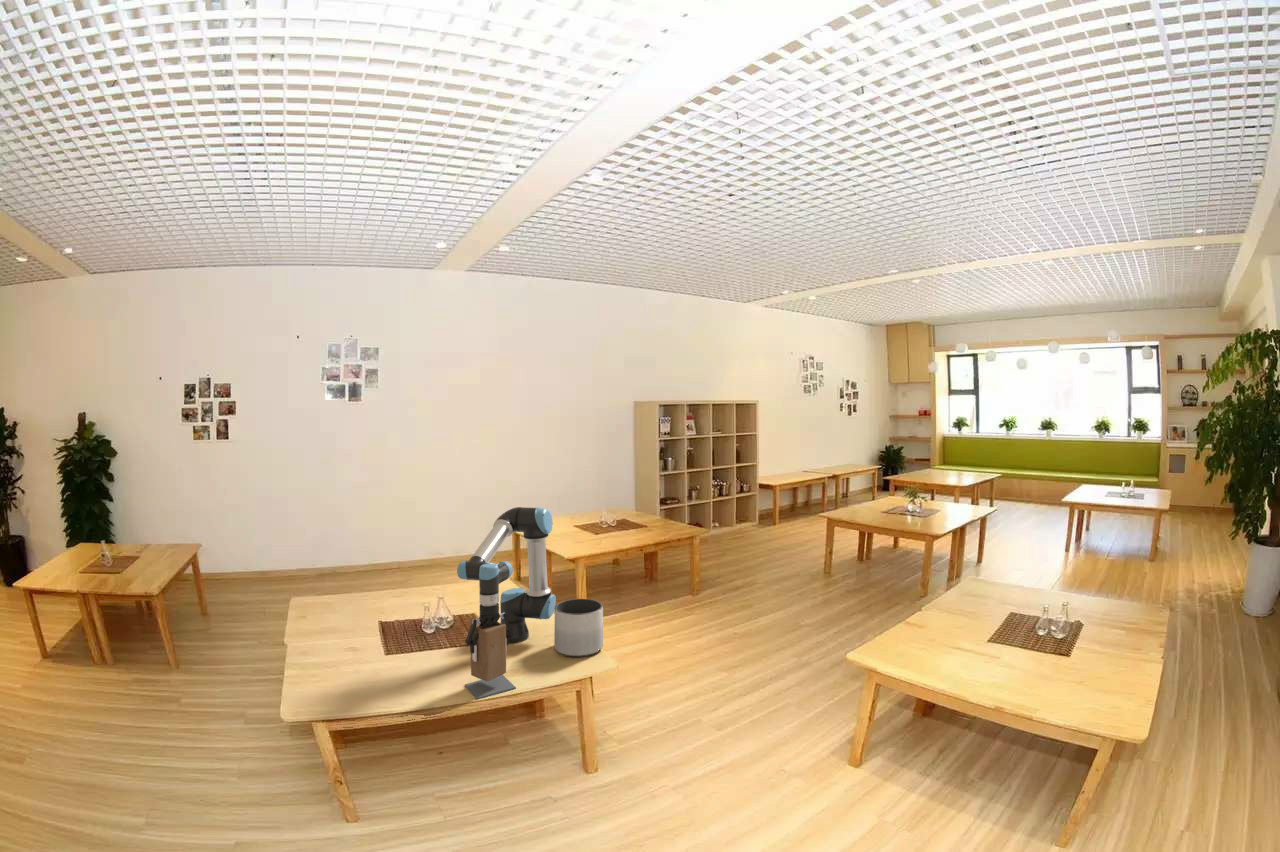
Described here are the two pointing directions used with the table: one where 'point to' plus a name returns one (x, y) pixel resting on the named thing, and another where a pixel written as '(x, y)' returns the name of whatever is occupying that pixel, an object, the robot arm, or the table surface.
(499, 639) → the wooden block
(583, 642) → the planter
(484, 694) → the mat
